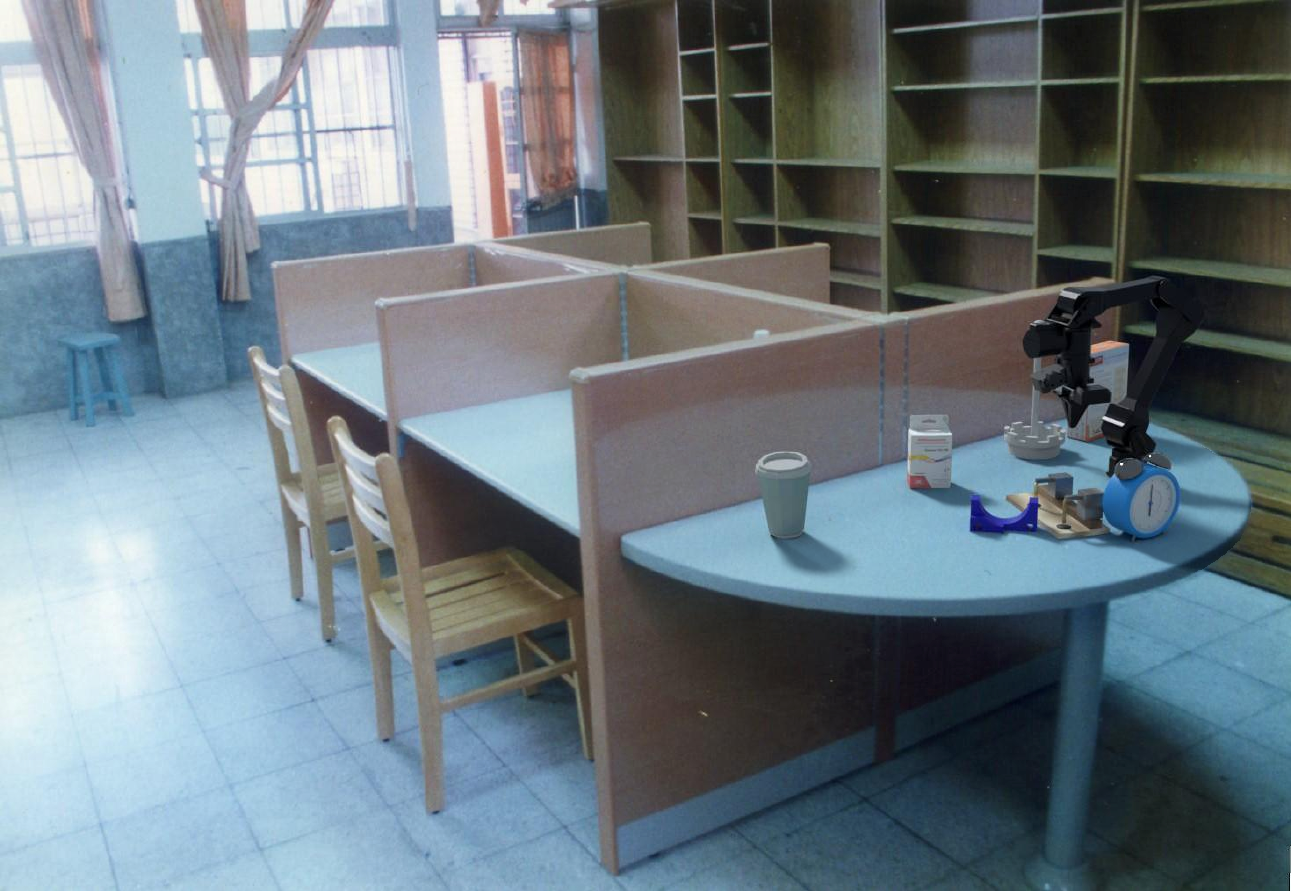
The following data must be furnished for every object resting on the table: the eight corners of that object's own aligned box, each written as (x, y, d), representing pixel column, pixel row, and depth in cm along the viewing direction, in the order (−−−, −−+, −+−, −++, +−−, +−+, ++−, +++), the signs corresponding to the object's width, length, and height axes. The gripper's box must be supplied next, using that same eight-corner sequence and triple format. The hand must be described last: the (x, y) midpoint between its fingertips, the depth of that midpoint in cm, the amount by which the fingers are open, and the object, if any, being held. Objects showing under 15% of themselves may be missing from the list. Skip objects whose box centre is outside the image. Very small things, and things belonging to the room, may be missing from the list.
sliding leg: (1064, 496, 233) (1065, 472, 231) (1072, 501, 230) (1073, 477, 228) (1030, 500, 232) (1031, 475, 230) (1037, 505, 229) (1038, 480, 227)
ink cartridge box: (909, 489, 247) (910, 421, 242) (906, 481, 251) (907, 414, 247) (951, 488, 246) (953, 420, 241) (948, 480, 250) (949, 413, 246)
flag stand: (1072, 459, 259) (1080, 324, 250) (1012, 462, 260) (1018, 327, 251) (1053, 442, 272) (1060, 312, 263) (996, 444, 272) (1001, 315, 263)
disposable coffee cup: (807, 545, 220) (806, 468, 216) (751, 541, 224) (748, 466, 219) (816, 524, 230) (816, 451, 226) (762, 521, 233) (760, 449, 229)
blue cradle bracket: (969, 532, 223) (970, 502, 221) (970, 523, 227) (971, 494, 225) (1037, 536, 219) (1038, 505, 217) (1036, 527, 223) (1038, 497, 222)
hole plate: (1053, 494, 239) (1054, 459, 237) (1109, 533, 218) (1112, 495, 216) (1005, 499, 238) (1007, 464, 235) (1058, 539, 217) (1060, 500, 215)
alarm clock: (1123, 546, 212) (1129, 466, 208) (1098, 535, 218) (1103, 457, 213) (1178, 532, 217) (1185, 454, 212) (1152, 522, 222) (1158, 445, 218)
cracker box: (1103, 425, 282) (1108, 339, 275) (1125, 430, 277) (1131, 343, 270) (1064, 437, 274) (1069, 348, 268) (1086, 443, 270) (1091, 353, 263)
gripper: (1015, 346, 242) (1013, 419, 246) (1059, 366, 224) (1056, 445, 229) (1066, 340, 243) (1063, 413, 248) (1115, 360, 225) (1110, 438, 230)
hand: (1072, 427), depth 238 cm, fingers closed
